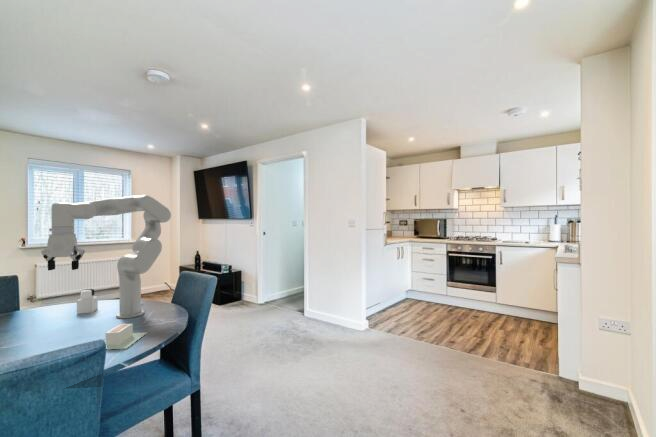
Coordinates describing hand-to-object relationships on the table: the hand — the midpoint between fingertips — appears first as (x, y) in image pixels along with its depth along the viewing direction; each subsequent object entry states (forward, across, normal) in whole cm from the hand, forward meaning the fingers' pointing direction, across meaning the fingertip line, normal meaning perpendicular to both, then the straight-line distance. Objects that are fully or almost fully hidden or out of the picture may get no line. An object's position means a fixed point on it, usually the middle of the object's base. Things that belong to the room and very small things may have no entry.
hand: (63, 269), depth 138 cm
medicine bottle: (+28, -12, +34) cm, 46 cm away
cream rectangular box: (+28, +30, -12) cm, 43 cm away
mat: (+28, +30, -12) cm, 43 cm away
